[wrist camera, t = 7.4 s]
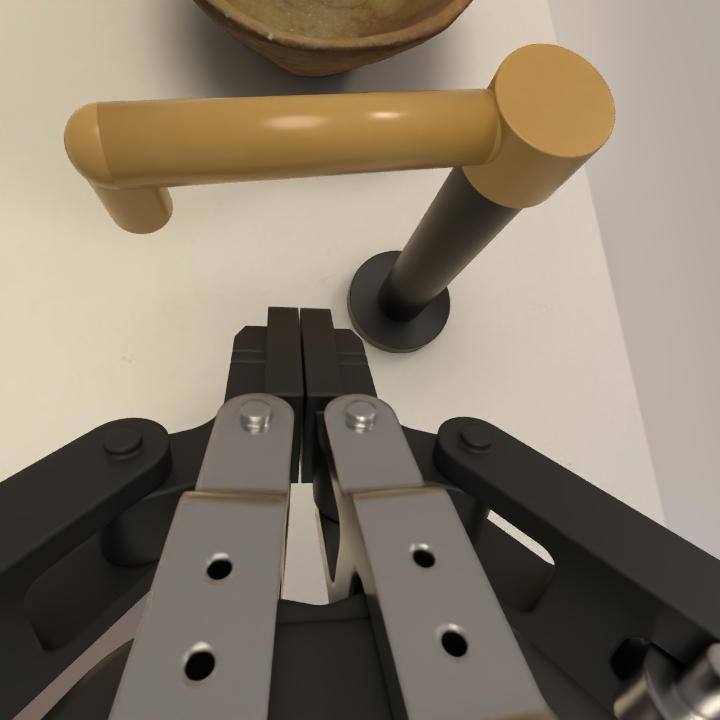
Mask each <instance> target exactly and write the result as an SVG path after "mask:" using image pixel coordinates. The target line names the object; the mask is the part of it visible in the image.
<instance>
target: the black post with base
mask: <svg viewBox="0 0 720 720" xmlns="http://www.w3.org/2000/svg"><path fill="white" fill-rule="evenodd" d="M522 209H523V208H510V207H506V206H502V205H499V204H497V203H495V202H493V201H491V200H489V199H487V198H486V197H484V196H483V195H482V194H481V193H479V192H478V191H477V190H476V189H475V188H474V187H473V186H472V184H471V183H470V182H469V180H468V179H467V177H466V175H465V173H464V171H463V169H462V167H453V169H452V171H451V172H450V174H449V176H448V177H447V179H446V181H445V182H444V184H443V185H442V187H441V189H440V190H439V192H438V194H437V195H436V197H435V199H434V200H433V202H432V203H431V205H430V207H429V208H428V210H427V212H426V213H425V215H424V217H423V218H422V220H421V222H420V223H419V225H418V226H417V228H416V230H415V231H414V233H413V235H412V236H411V238H410V240H409V241H408V243H407V244H406V246H405V248H404V249H403V251H389V252H384V253H380V254H378V255H375V256H373V257H372V258H370V259H368V260H367V261H366V262H365V263H364V264H363V265H362V266H361V267H360V268H359V269H358V271H357V272H356V274H355V276H354V278H353V280H352V282H351V285H350V288H349V291H348V298H347V305H348V312H349V315H350V318H351V321H352V323H353V325H354V327H355V328H356V330H357V331H358V333H359V334H360V335H361V336H362V337H363V338H364V339H365V340H366V341H367V342H369V343H370V344H372V345H373V346H375V347H377V348H379V349H381V350H385V351H388V352H393V353H406V352H411V351H415V350H417V349H420V348H422V347H424V346H425V345H427V344H428V343H429V342H431V341H432V340H433V339H434V338H435V337H436V336H438V335H439V333H440V332H441V331H442V329H443V328H444V326H445V324H446V322H447V319H448V316H449V311H450V297H449V292H448V289H447V285H448V284H449V283H450V282H451V281H452V280H453V279H454V278H455V277H456V276H457V275H458V274H459V273H460V272H461V271H462V270H463V269H464V268H465V267H466V266H467V265H468V264H469V263H470V262H471V261H472V260H473V259H474V258H475V257H476V256H477V255H478V254H479V253H480V252H481V251H482V250H483V249H484V248H485V247H486V246H487V244H488V243H489V242H490V241H491V240H492V239H493V238H494V237H495V236H496V235H497V234H498V233H499V232H500V231H501V230H502V229H503V228H504V227H505V226H506V225H507V224H508V223H509V222H510V221H511V220H512V219H513V218H514V217H515V216H516V215H517V214H518V213H519V212H520V211H521V210H522Z"/></svg>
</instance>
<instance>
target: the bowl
mask: <svg viewBox="0 0 720 720" xmlns="http://www.w3.org/2000/svg"><path fill="white" fill-rule="evenodd" d="M193 1H194V2H195V3H196V4H197V5H198V6H199V7H200V8H201V9H202V10H203V11H204V12H205V13H206V14H207V15H208V16H209V17H210V18H211V19H213V20H214V21H215V22H216V23H217V24H218V25H219V26H221V27H222V28H223V29H225V30H226V31H227V32H228V33H229V34H231V35H232V36H233V37H234V38H235V39H237V40H238V41H239V42H241V43H242V44H244V45H245V46H247V47H248V48H250V49H252V50H254V51H255V52H257V53H259V54H261V55H262V56H264V57H266V58H267V59H269V60H270V61H272V62H274V63H275V64H277V65H278V66H280V67H282V68H283V69H285V70H287V71H289V72H291V73H292V74H295V75H299V76H316V77H322V76H327V75H332V74H336V73H339V72H344V71H348V70H352V69H355V68H358V67H362V66H364V65H367V64H371V63H375V62H379V61H382V60H384V59H387V58H389V57H392V56H394V55H396V54H398V53H401V52H403V51H406V50H408V49H411V48H413V47H415V46H417V45H419V44H422V43H423V42H425V41H427V40H429V39H431V38H432V37H434V36H436V35H437V34H439V33H441V32H442V31H444V30H445V29H446V28H448V27H449V26H450V25H451V24H452V23H453V22H454V21H455V20H456V19H457V18H458V16H459V15H460V14H461V13H462V12H463V11H464V10H465V9H466V8H467V7H468V6H469V4H470V3H471V2H472V1H473V0H193Z"/></svg>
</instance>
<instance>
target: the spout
mask: <svg viewBox="0 0 720 720" xmlns="http://www.w3.org/2000/svg"><path fill="white" fill-rule="evenodd" d="M614 121H615V106H614V101H613V97H612V94H611V92H610V89H609V87H608V86H607V84H606V82H605V80H604V79H603V78H602V76H601V75H600V74H599V72H598V71H597V70H596V69H595V68H594V67H593V66H592V65H591V64H590V63H589V62H588V61H586V60H585V59H584V58H582V57H581V56H579V55H578V54H576V53H574V52H572V51H570V50H568V49H565V48H563V47H559V46H556V45H550V44H532V45H527V46H524V47H521V48H519V49H517V50H516V51H514V52H512V53H511V54H510V55H509V56H507V57H506V59H505V60H504V61H503V62H502V64H501V65H500V67H499V69H498V70H497V72H496V74H495V76H494V77H493V79H492V81H491V83H490V84H489V86H488V88H487V89H466V90H436V91H407V92H377V93H348V94H318V95H289V96H259V97H230V98H200V99H171V100H141V101H112V102H96V103H90V104H87V105H84V106H82V107H81V108H79V109H78V110H76V111H75V112H74V113H73V115H72V116H71V117H70V118H69V120H68V122H67V124H66V127H65V133H64V143H65V149H66V152H67V155H68V157H69V159H70V161H71V163H72V165H73V166H74V167H75V169H76V170H77V171H78V172H79V173H80V174H81V175H82V176H83V177H84V178H85V179H87V181H88V182H89V184H90V185H91V187H92V188H93V190H94V191H95V193H96V194H97V196H98V197H99V199H100V200H101V202H102V203H103V205H104V206H105V208H106V209H107V211H108V213H109V214H110V216H111V217H112V219H113V220H114V221H115V223H116V224H117V225H118V226H119V227H121V228H122V229H124V230H126V231H128V232H131V233H136V234H148V233H152V232H155V231H157V230H159V229H161V228H162V227H163V226H164V225H165V224H166V223H167V222H168V221H169V219H170V217H171V215H172V211H173V203H172V199H171V197H170V194H169V191H168V189H167V187H175V186H190V185H204V184H218V183H233V182H247V181H261V180H276V179H290V178H304V177H319V176H333V175H347V174H362V173H376V172H390V171H405V170H419V169H433V168H448V167H462V169H463V171H464V173H465V175H466V177H467V179H468V180H469V182H470V183H471V184H472V186H473V187H474V188H475V189H476V190H477V191H478V192H479V193H481V194H482V195H483V196H484V197H486V198H487V199H489V200H491V201H493V202H495V203H497V204H499V205H502V206H506V207H510V208H528V207H532V206H535V205H538V204H540V203H542V202H544V201H545V200H547V199H548V198H549V197H550V196H551V195H552V194H553V193H554V192H555V191H556V190H557V189H558V188H559V187H560V186H561V185H562V184H563V183H564V182H565V181H567V180H568V179H569V178H570V177H571V176H572V175H573V174H574V173H575V172H576V171H577V170H578V169H579V168H580V167H581V166H582V165H583V164H584V163H585V162H586V161H587V160H588V159H589V158H590V157H591V156H592V155H593V154H595V153H596V152H597V151H598V150H599V149H600V148H601V147H602V146H603V145H604V144H605V142H606V141H607V140H608V138H609V136H610V134H611V133H612V130H613V127H614Z"/></svg>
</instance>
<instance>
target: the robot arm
mask: <svg viewBox="0 0 720 720" xmlns="http://www.w3.org/2000/svg"><path fill="white" fill-rule="evenodd" d="M299 461H300V463H301V483H313V495H314V501H315V504H316V508H315V517H316V523H317V529H318V536H319V542H320V548H321V554H322V560H323V566H324V572H325V578H326V584H327V591H328V599H329V604H326V605H312V604H306V603H301V602H296V601H290V600H285V599H283V591H284V578H285V565H286V552H287V539H288V527H289V512H290V491H291V483H298V477H299ZM490 510H492V511H494V512H495V513H496V514H498V515H499V516H501V517H502V518H503V519H505V520H506V521H508V522H509V523H510V524H512V525H513V526H515V527H516V528H517V529H519V530H520V531H522V532H523V533H525V534H526V535H527V536H529V537H530V538H532V539H533V540H534V541H536V542H537V543H539V544H540V545H541V546H543V547H544V548H545V549H546V550H547V551H548V553H549V554H550V555H551V557H552V559H553V561H554V564H555V565H553V564H550V563H548V562H546V561H545V560H543V559H542V558H541V557H539V556H538V555H536V554H535V553H534V552H532V551H531V550H530V549H528V548H527V547H525V546H524V545H523V544H521V543H520V542H519V541H517V540H516V539H514V538H513V537H512V536H510V535H509V534H508V533H506V532H505V531H503V530H502V529H501V528H499V527H498V526H497V525H495V524H494V523H492V522H491V521H490V520H488V519H487V517H488V515H489V512H490ZM149 591H150V592H149ZM148 592H149V595H148V598H147V601H146V604H145V607H144V610H143V613H142V616H141V620H140V623H139V626H138V629H137V632H136V635H135V638H133V639H131V640H130V641H128V642H126V643H125V644H123V645H122V646H120V647H119V648H117V649H116V650H114V651H113V652H112V653H110V654H109V655H107V656H106V657H105V658H104V659H103V660H101V661H100V662H99V663H98V664H97V665H95V666H94V667H93V668H92V669H91V670H89V671H88V672H87V673H86V674H85V675H84V676H83V677H82V678H81V679H80V680H79V681H78V682H77V683H76V684H75V685H74V686H73V687H72V688H71V689H70V690H69V691H68V692H67V693H66V694H65V695H64V696H63V697H62V698H61V699H60V700H59V701H58V702H57V704H56V705H55V706H54V707H53V708H52V709H51V710H50V711H49V712H48V713H47V714H46V715H45V716H44V717H43V718H42V719H41V720H720V560H718V559H716V558H715V557H713V556H711V555H710V554H708V553H706V552H705V551H703V550H701V549H700V548H698V547H696V546H695V545H693V544H692V543H690V542H688V541H687V540H685V539H683V538H682V537H680V536H678V535H677V534H675V533H673V532H671V531H670V530H668V529H666V528H665V527H663V526H661V525H660V524H658V523H656V522H655V521H653V520H651V519H650V518H648V517H646V516H645V515H643V514H641V513H640V512H638V511H636V510H635V509H633V508H631V507H630V506H628V505H626V504H625V503H623V502H621V501H620V500H618V499H616V498H615V497H613V496H611V495H610V494H608V493H606V492H604V491H603V490H601V489H599V488H598V487H596V486H594V485H593V484H591V483H589V482H588V481H586V480H584V479H583V478H581V477H579V476H578V475H576V474H574V473H573V472H571V471H569V470H568V469H566V468H564V467H563V466H561V465H559V464H558V463H556V462H554V461H553V460H551V459H549V458H548V457H546V456H544V455H543V454H541V453H539V452H538V451H536V450H534V449H532V448H531V447H529V446H527V445H526V444H524V443H522V442H521V441H519V440H517V439H516V438H514V437H512V436H511V435H509V434H507V433H506V432H504V431H502V430H501V429H499V428H497V427H496V426H494V425H492V424H490V423H488V422H486V421H483V420H480V419H477V418H471V417H456V418H452V419H449V420H447V421H445V422H444V423H443V424H442V425H441V426H440V427H439V430H438V434H432V433H428V432H423V431H419V430H415V429H411V428H408V427H405V426H402V425H400V423H399V421H398V419H397V416H396V414H395V412H394V410H393V409H392V408H391V407H390V406H389V405H388V404H387V403H385V402H384V401H382V400H380V399H378V398H377V394H376V390H375V387H374V383H373V379H372V376H371V372H370V368H369V366H368V361H367V357H366V355H365V350H364V346H363V342H362V340H361V339H360V338H359V337H358V336H357V335H356V334H355V333H354V332H353V331H352V330H351V329H334V327H333V321H332V316H331V311H330V309H314V308H300V320H299V312H298V308H291V307H268V323H267V326H245V327H244V328H243V329H242V330H241V331H240V332H239V333H238V334H237V335H236V336H235V338H234V344H233V352H232V357H231V363H230V369H229V375H228V382H227V388H226V394H225V400H224V404H223V405H222V406H221V408H220V409H219V411H218V413H217V416H215V417H214V418H213V419H212V420H210V421H209V422H207V423H205V424H203V425H201V426H199V427H196V428H194V429H190V430H186V431H182V432H177V433H173V434H168V432H167V430H166V429H165V428H164V427H163V426H162V425H160V424H159V423H157V422H155V421H152V420H148V419H143V418H125V419H119V420H115V421H111V422H108V423H106V424H103V425H101V426H99V427H97V428H95V429H93V430H92V431H90V432H88V433H86V434H85V435H83V436H81V437H79V438H78V439H76V440H74V441H72V442H71V443H69V444H67V445H65V446H64V447H62V448H60V449H58V450H57V451H55V452H53V453H51V454H49V455H48V456H46V457H44V458H42V459H41V460H39V461H37V462H35V463H34V464H32V465H30V466H28V467H27V468H25V469H23V470H21V471H20V472H18V473H16V474H14V475H13V476H11V477H9V478H7V479H6V480H4V481H2V482H0V720H12V719H13V718H14V717H15V716H16V715H17V714H18V713H19V712H20V711H21V710H23V709H24V708H25V707H26V706H27V705H28V704H29V703H30V702H31V701H32V700H33V699H34V698H35V697H37V696H38V695H39V694H40V693H41V692H42V691H43V690H44V689H45V688H46V687H47V686H48V685H49V684H50V683H51V682H53V680H55V679H56V678H57V677H58V676H59V675H60V674H61V673H62V672H63V671H64V670H65V669H66V668H67V667H68V666H69V665H71V664H72V663H73V662H74V661H75V660H76V659H77V658H78V657H79V656H80V655H81V654H82V653H83V652H85V650H87V649H88V648H89V647H90V646H91V645H92V644H93V643H94V642H95V641H96V640H97V639H98V638H99V637H101V636H102V635H103V634H104V633H105V632H106V631H107V630H108V629H109V628H110V627H111V626H112V625H113V624H114V623H115V622H117V620H119V619H120V618H121V617H122V616H123V615H124V614H125V613H126V612H127V611H128V610H129V609H130V608H132V606H134V605H135V604H136V603H137V602H138V601H139V600H140V599H141V598H142V597H143V596H144V595H145V594H146V593H148Z"/></svg>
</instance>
